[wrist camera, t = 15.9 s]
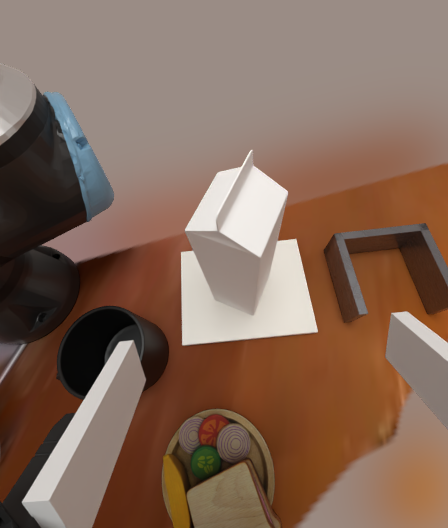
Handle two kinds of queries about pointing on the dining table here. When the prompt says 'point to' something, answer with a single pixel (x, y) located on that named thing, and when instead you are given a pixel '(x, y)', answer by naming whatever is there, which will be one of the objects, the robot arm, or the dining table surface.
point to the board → (238, 322)
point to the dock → (404, 237)
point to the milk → (238, 234)
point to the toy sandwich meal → (219, 474)
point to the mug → (108, 347)
